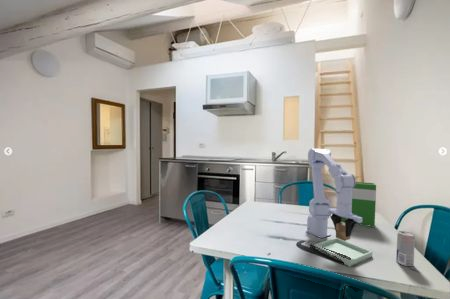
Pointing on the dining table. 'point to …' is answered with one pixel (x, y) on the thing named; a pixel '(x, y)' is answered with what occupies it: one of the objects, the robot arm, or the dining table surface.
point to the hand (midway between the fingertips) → (342, 234)
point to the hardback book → (364, 202)
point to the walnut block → (341, 231)
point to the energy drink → (405, 248)
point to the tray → (345, 251)
